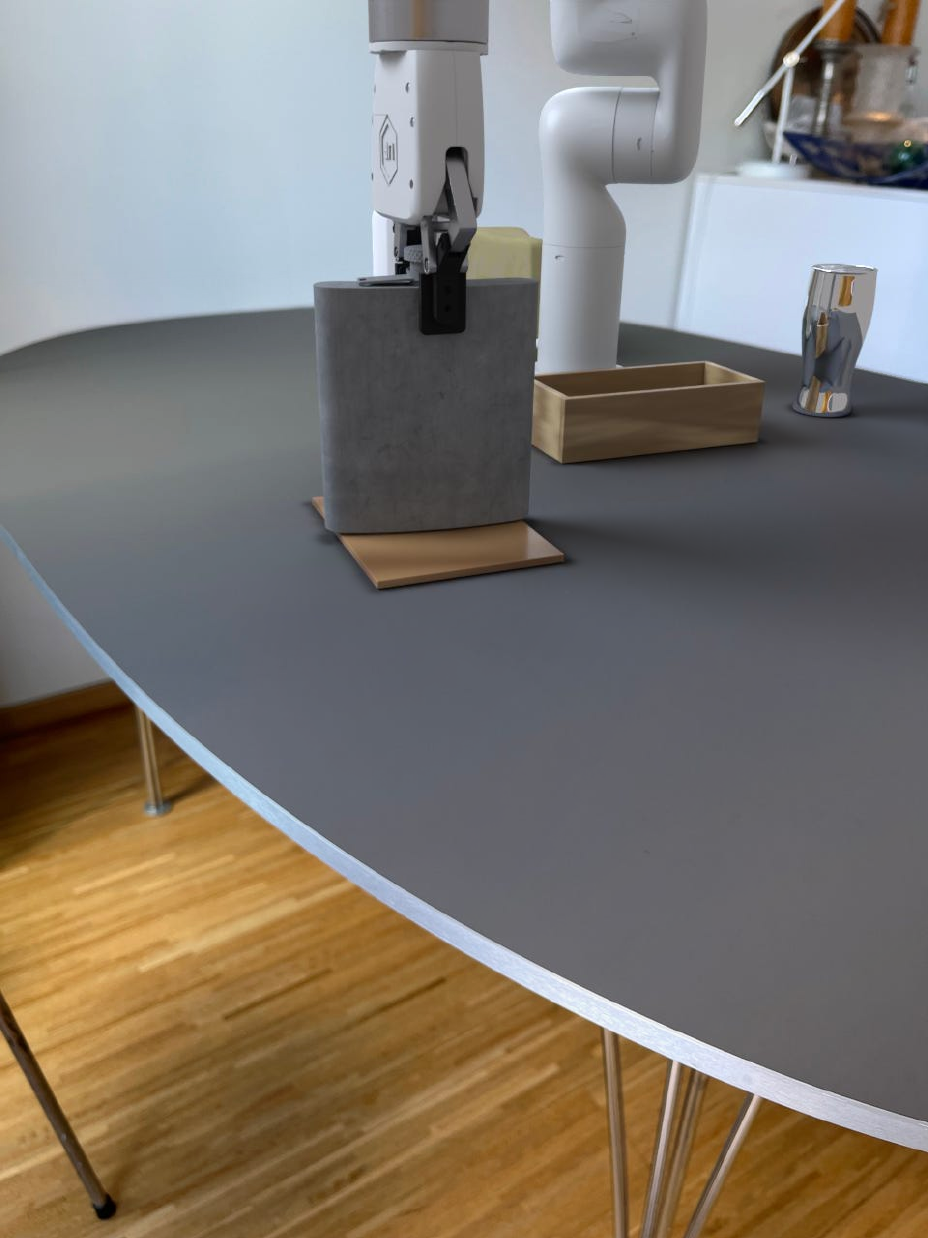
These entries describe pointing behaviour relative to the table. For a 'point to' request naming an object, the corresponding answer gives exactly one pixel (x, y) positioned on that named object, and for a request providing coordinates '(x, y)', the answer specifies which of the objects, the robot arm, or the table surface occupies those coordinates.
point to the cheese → (505, 256)
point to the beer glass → (833, 336)
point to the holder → (644, 410)
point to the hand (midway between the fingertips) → (429, 323)
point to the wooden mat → (445, 551)
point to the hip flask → (424, 404)
